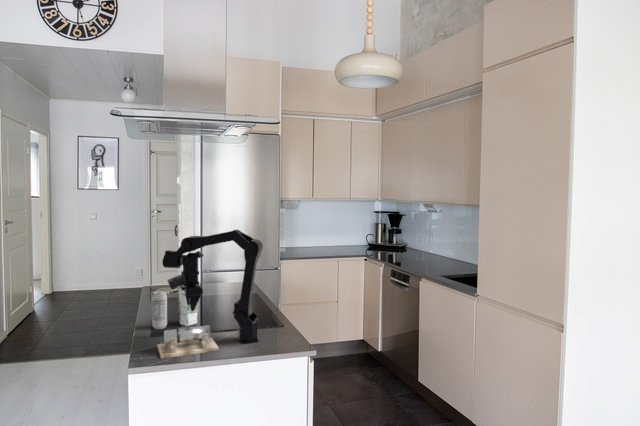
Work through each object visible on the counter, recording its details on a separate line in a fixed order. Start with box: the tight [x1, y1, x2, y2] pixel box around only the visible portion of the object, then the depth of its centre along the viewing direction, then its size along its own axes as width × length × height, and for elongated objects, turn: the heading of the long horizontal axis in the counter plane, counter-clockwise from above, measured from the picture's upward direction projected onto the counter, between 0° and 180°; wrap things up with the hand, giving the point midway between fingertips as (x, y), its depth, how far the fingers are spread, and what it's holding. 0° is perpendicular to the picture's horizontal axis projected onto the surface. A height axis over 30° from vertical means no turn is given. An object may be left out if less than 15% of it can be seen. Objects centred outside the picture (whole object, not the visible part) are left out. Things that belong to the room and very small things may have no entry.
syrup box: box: [178, 290, 199, 327], centre depth 196 cm, size 6×6×14 cm
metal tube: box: [163, 324, 212, 345], centre depth 167 cm, size 16×5×5 cm, turn 115°
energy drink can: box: [151, 290, 168, 330], centre depth 190 cm, size 6×6×15 cm
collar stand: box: [157, 333, 219, 359], centre depth 167 cm, size 20×12×6 cm, turn 115°
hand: (190, 307), depth 178 cm, fingers open, 9 cm apart
